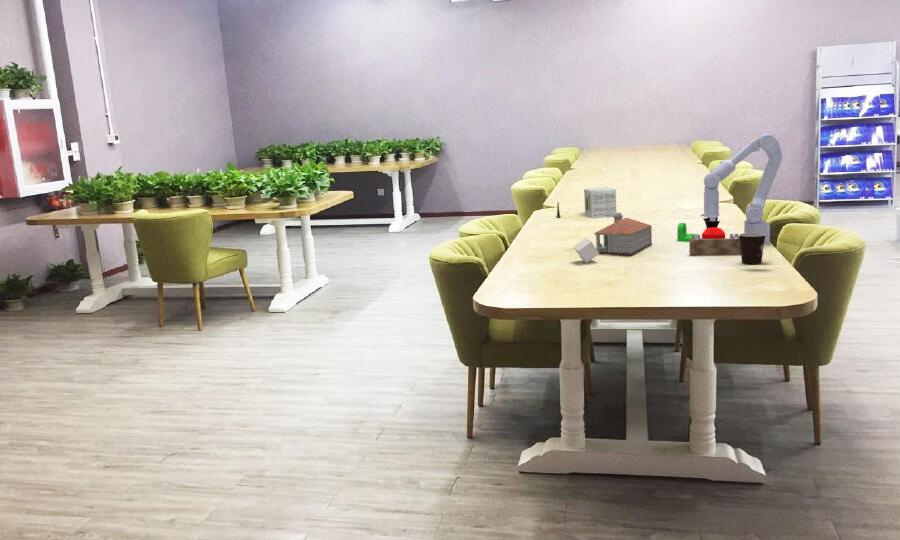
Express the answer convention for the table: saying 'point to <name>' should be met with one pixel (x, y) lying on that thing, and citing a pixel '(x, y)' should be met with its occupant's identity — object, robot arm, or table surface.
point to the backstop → (715, 247)
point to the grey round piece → (700, 238)
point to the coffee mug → (752, 247)
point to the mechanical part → (683, 233)
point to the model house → (624, 237)
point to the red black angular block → (713, 233)
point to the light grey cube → (586, 250)
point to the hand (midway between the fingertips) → (711, 236)
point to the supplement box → (600, 202)
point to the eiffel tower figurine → (558, 211)
